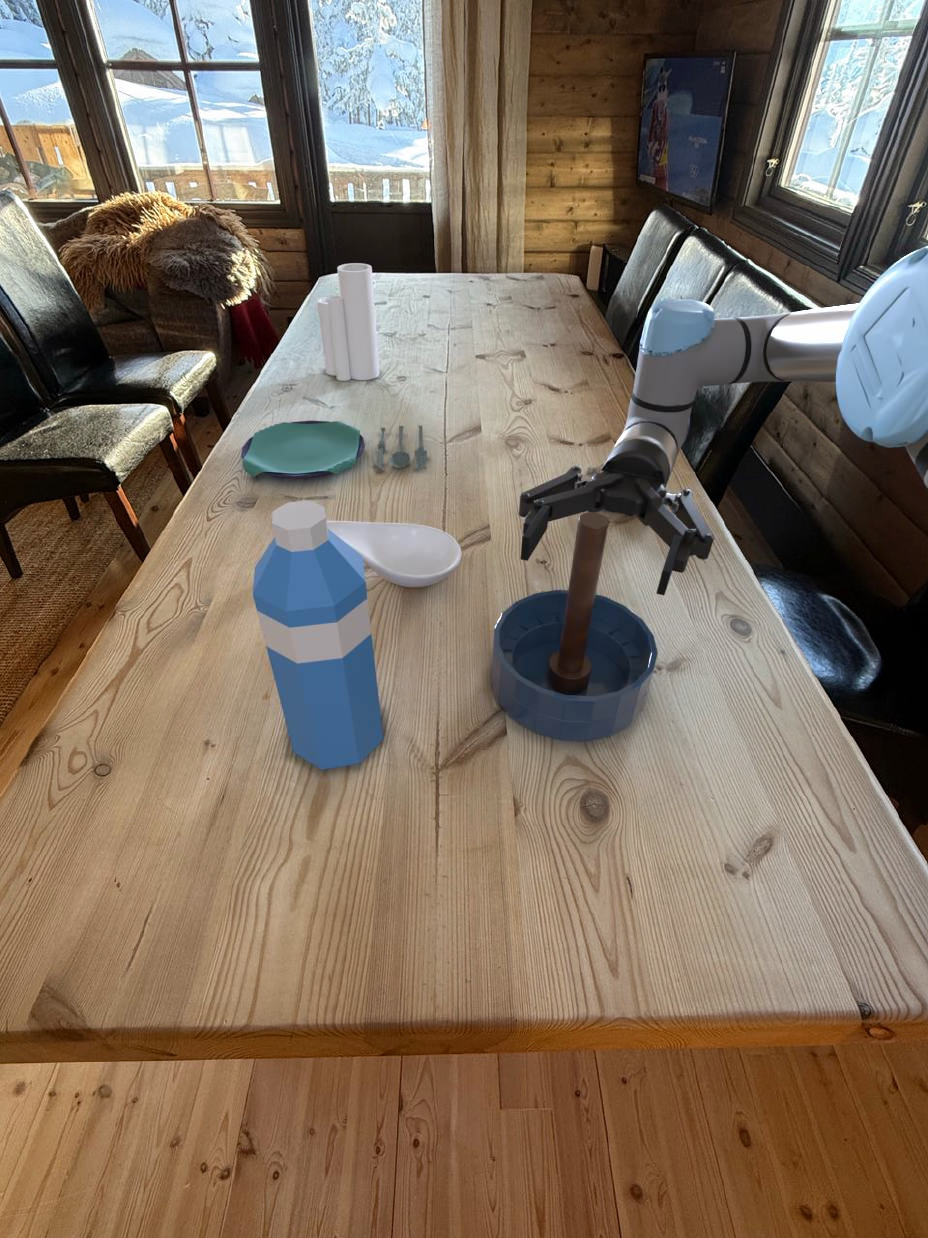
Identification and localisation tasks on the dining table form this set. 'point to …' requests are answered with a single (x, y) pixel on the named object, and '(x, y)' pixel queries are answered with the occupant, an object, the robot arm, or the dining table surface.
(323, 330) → the vase
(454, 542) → the spoon rest
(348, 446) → the cutlery set
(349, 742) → the water bottle
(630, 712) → the bowl
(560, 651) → the pestle
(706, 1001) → the dining table surface
